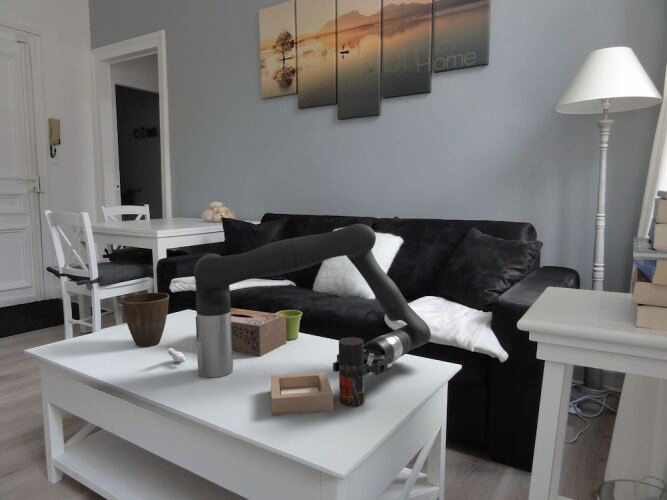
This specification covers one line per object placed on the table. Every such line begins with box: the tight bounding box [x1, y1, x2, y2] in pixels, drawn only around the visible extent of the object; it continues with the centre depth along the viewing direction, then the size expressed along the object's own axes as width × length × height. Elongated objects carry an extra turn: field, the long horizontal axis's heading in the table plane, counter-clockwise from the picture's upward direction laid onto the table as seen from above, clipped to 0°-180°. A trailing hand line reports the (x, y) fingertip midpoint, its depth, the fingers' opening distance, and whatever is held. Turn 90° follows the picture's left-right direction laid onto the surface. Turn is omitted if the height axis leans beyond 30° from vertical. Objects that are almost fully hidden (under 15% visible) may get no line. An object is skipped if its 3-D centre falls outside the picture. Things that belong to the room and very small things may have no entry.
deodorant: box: [338, 336, 365, 408], centre depth 116 cm, size 6×6×15 cm
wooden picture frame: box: [270, 371, 334, 416], centre depth 118 cm, size 14×14×4 cm
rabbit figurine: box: [167, 347, 186, 366], centre depth 144 cm, size 6×4×8 cm
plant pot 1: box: [120, 292, 170, 348], centre depth 163 cm, size 15×15×16 cm
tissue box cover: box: [195, 307, 287, 358], centre depth 162 cm, size 26×14×10 cm, turn 62°
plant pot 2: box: [274, 309, 303, 341], centre depth 168 cm, size 9×9×9 cm
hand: (345, 370), depth 114 cm, fingers closed on deodorant, 6 cm apart
